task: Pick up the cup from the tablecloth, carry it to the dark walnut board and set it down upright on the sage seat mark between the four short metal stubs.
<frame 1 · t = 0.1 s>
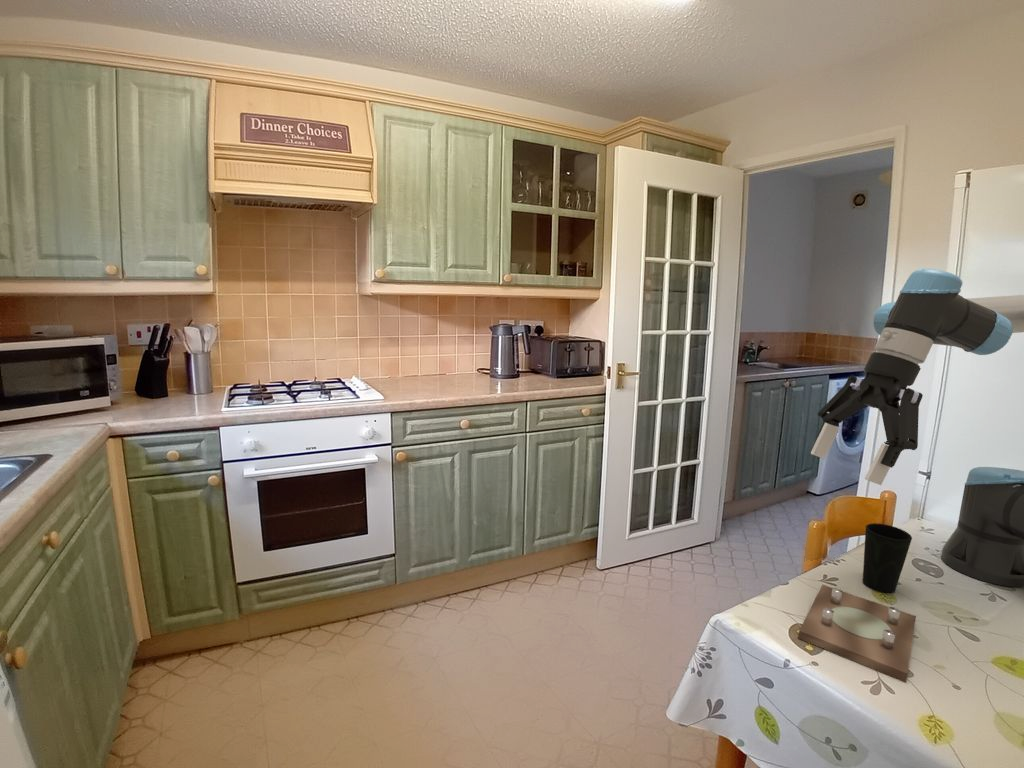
hand: (843, 468, 95), 28 cm above the table, tool tilted 20°, fingers open, 13 cm apart
cup: (878, 586, 109), on the table
stub board: (858, 630, 94), on the table
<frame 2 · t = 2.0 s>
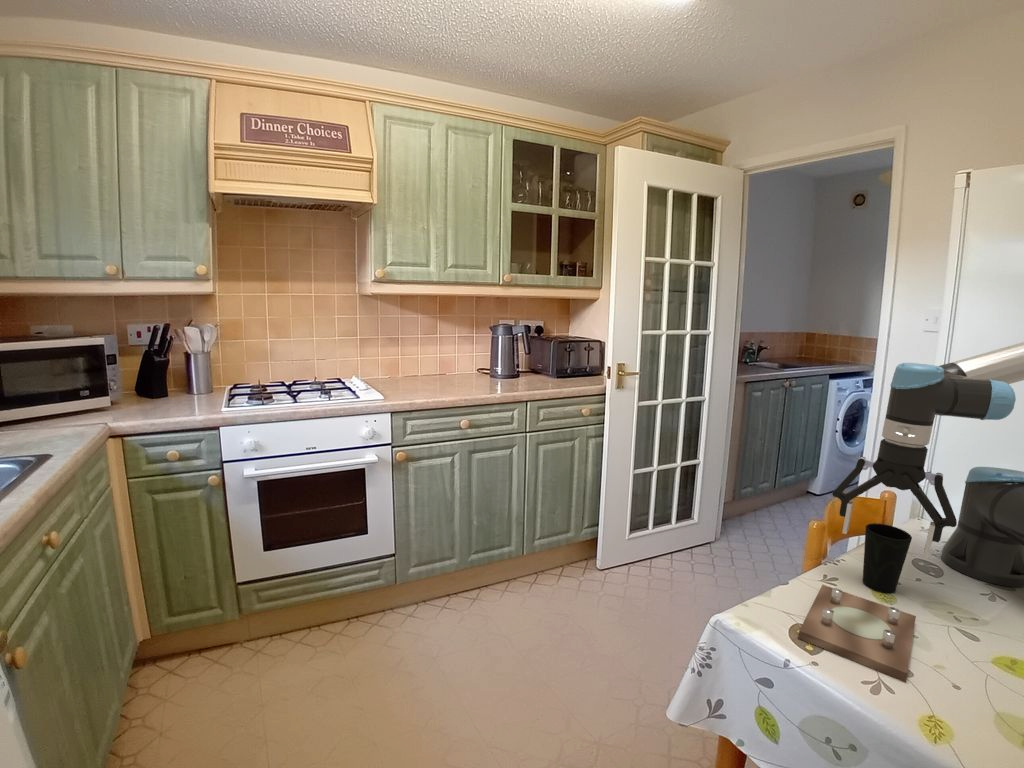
hand: (884, 543, 107), 9 cm above the table, tool pointing down, fingers open, 13 cm apart
nothing on the table moved.
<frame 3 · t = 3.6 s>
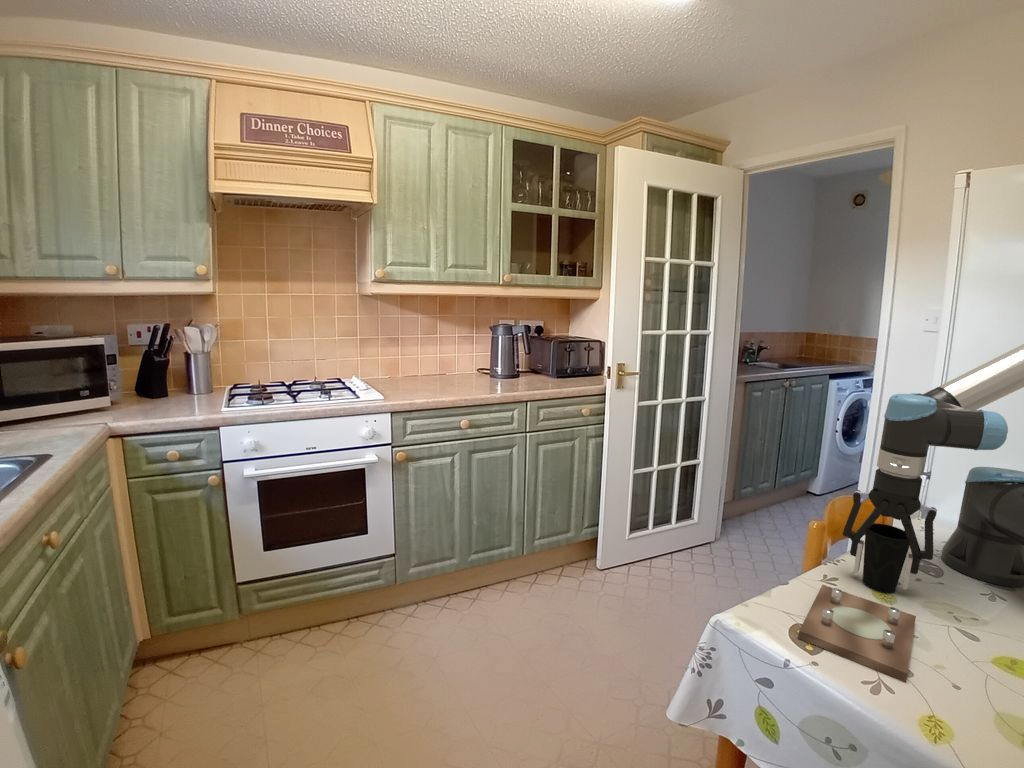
hand: (880, 578, 109), 2 cm above the table, tool pointing down, fingers closed on cup, 8 cm apart
cup: (878, 586, 109), on the table, touching gripper
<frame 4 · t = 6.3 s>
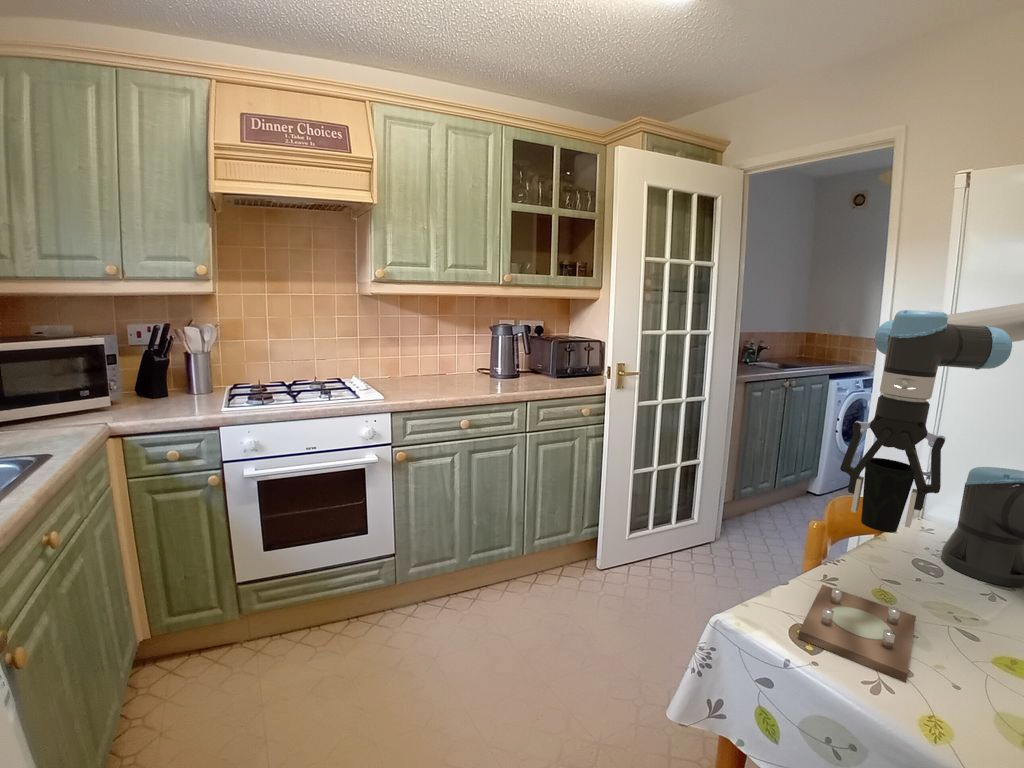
hand: (880, 517, 98), 18 cm above the table, tool pointing down, fingers closed on cup, 8 cm apart
cup: (878, 526, 99), point 16 cm above the table, touching gripper
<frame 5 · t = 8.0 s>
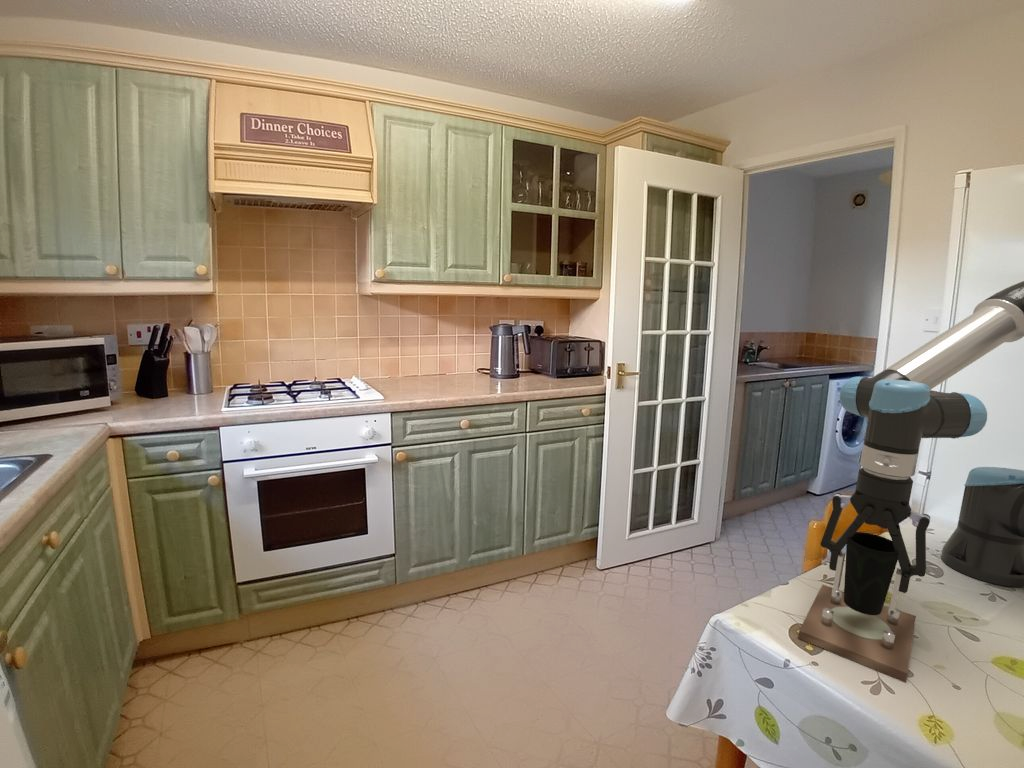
hand: (863, 597, 92), 7 cm above the table, tool pointing down, fingers closed on cup, 8 cm apart
cup: (861, 606, 93), point 5 cm above the table, touching gripper
when the fingers open (4 cm above the table, at t = 9.3 s): cup stays where it is, resting on stub board.
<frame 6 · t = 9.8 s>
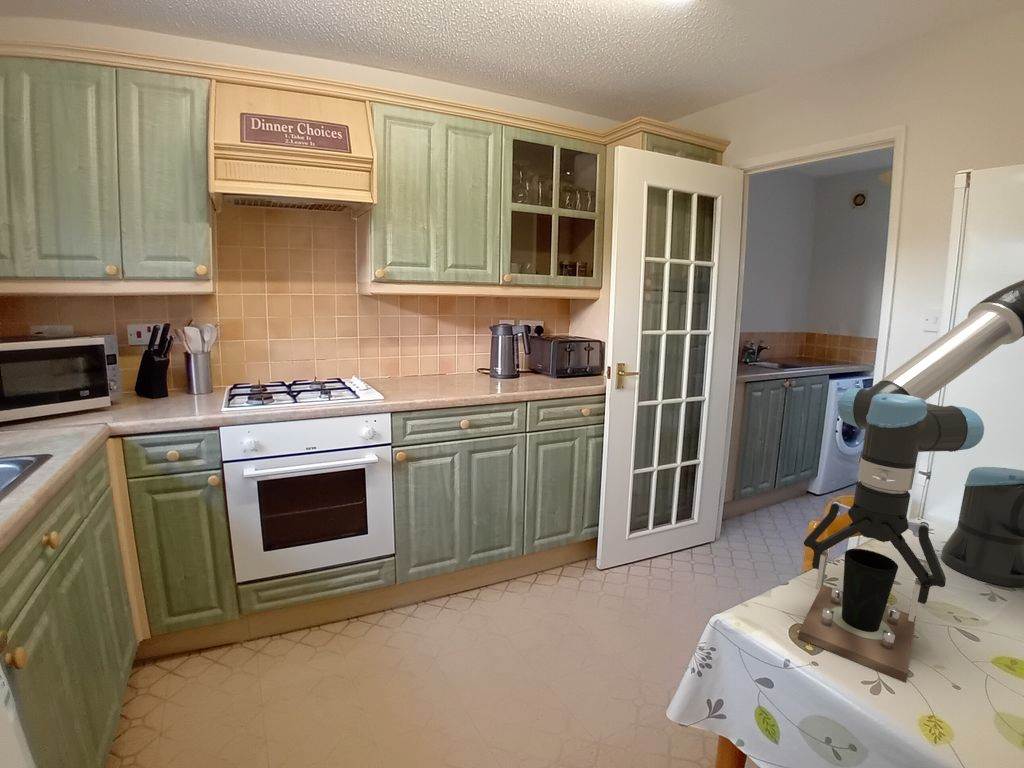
hand: (863, 601, 93), 6 cm above the table, tool pointing down, fingers open, 13 cm apart
cup: (859, 623, 93), point 2 cm above the table, touching stub board
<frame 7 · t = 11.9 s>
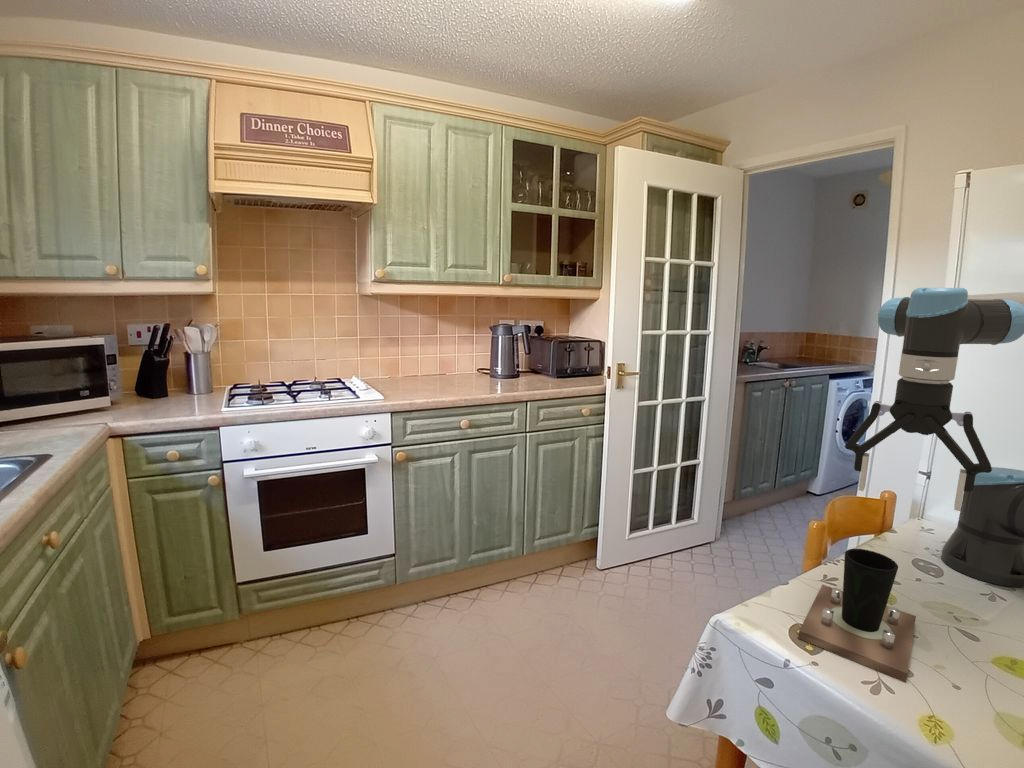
hand: (907, 498, 94), 23 cm above the table, tool pointing down, fingers open, 13 cm apart
nothing on the table moved.
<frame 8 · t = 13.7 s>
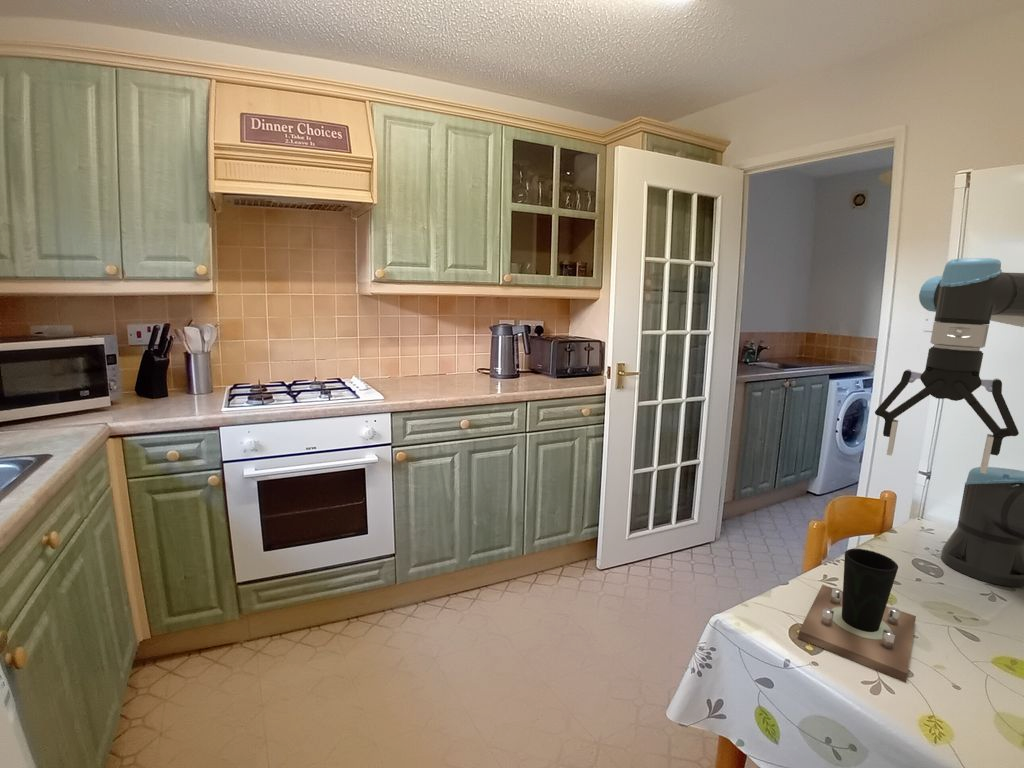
hand: (934, 462, 98), 29 cm above the table, tool pointing down, fingers open, 13 cm apart
nothing on the table moved.
at the end: cup 0.1 cm off-centre on the stub board, point 1.5 cm above the stub board's base; cup tilted 0°; the gripper is holding nothing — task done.
